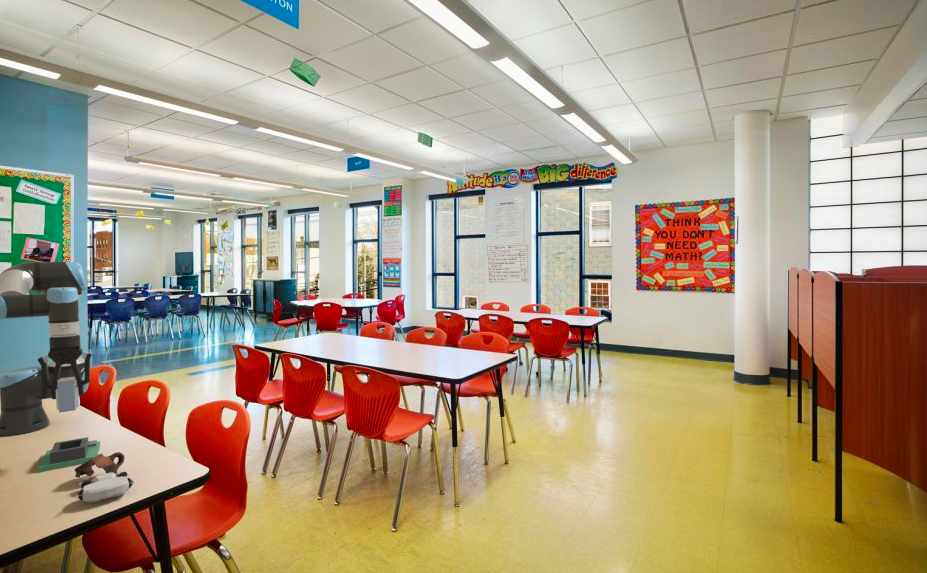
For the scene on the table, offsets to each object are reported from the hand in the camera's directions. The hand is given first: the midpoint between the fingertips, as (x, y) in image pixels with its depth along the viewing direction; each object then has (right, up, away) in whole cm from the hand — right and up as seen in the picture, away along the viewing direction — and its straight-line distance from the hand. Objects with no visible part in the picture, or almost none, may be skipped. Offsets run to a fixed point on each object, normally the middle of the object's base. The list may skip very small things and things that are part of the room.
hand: (68, 407), depth 150 cm
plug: (0, -1, 0) cm, 1 cm away
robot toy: (+29, -18, -22) cm, 41 cm away
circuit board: (-1, -17, +2) cm, 17 cm away
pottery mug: (+21, -18, -13) cm, 30 cm away
